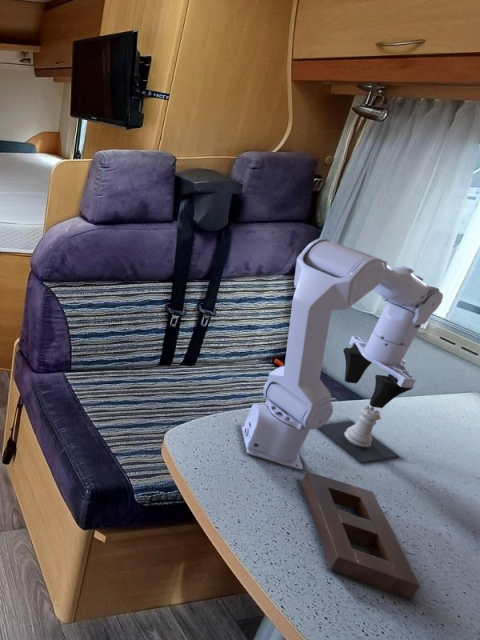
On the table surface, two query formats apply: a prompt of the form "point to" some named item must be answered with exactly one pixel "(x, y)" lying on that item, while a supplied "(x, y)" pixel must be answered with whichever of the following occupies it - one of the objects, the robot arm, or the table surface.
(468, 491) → the table surface
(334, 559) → the frame
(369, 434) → the rook chess piece
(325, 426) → the pad
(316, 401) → the robot arm
